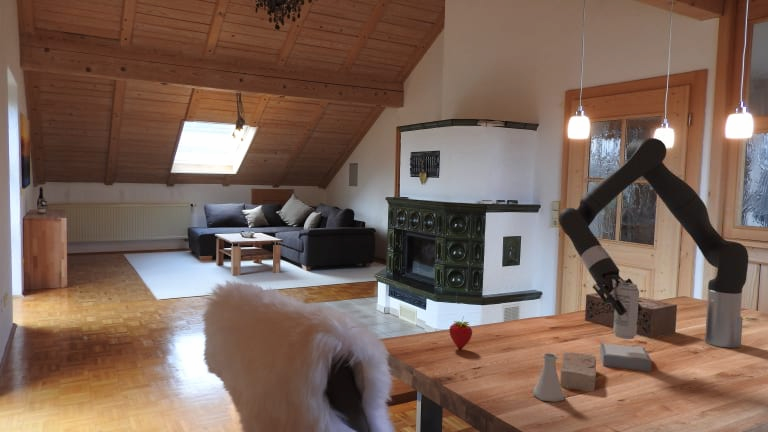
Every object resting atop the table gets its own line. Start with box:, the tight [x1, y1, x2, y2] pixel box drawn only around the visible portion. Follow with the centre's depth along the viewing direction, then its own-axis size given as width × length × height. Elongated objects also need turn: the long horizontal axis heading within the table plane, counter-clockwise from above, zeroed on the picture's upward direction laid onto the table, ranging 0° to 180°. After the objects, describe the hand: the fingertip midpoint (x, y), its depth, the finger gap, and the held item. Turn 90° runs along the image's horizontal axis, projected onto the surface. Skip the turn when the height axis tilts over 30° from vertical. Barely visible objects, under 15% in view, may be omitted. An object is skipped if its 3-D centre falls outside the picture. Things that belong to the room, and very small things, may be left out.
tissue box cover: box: [584, 292, 678, 339], centre depth 192 cm, size 26×14×10 cm, turn 33°
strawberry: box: [448, 315, 473, 350], centre depth 161 cm, size 6×8×10 cm
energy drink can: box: [612, 283, 640, 340], centre depth 152 cm, size 6×6×15 cm
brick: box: [559, 351, 597, 393], centre depth 139 cm, size 17×8×5 cm, turn 159°
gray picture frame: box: [599, 342, 652, 372], centre depth 153 cm, size 12×12×3 cm
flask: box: [533, 352, 565, 403], centre depth 126 cm, size 7×7×10 cm
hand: (631, 312), depth 151 cm, fingers closed on energy drink can, 6 cm apart
